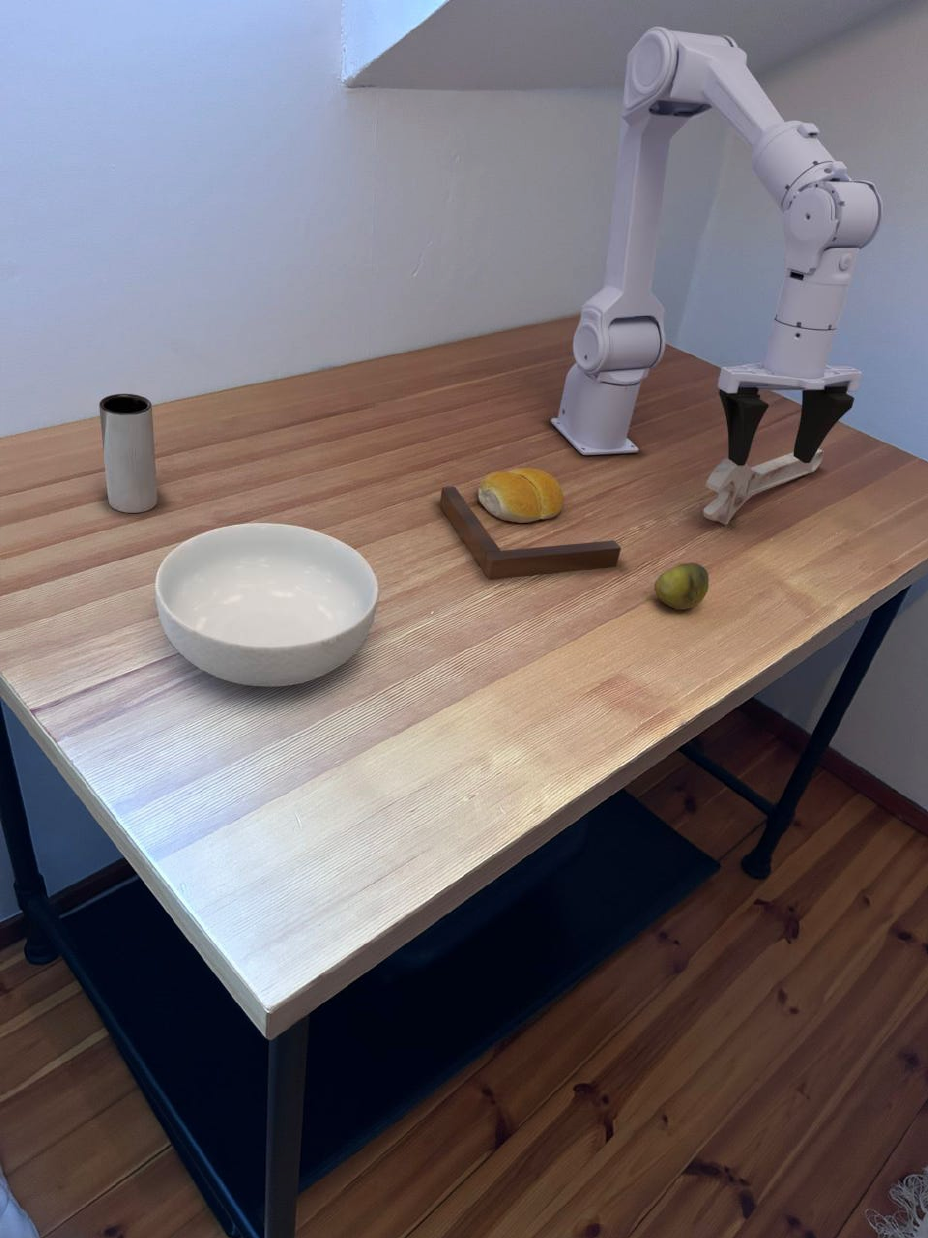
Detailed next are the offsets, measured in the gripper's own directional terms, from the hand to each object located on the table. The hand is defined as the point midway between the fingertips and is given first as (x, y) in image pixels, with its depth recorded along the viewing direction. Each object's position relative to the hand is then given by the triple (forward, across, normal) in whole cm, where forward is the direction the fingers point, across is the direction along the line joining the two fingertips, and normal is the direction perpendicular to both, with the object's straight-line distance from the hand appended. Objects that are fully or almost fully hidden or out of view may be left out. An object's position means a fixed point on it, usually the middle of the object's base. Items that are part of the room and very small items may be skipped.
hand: (769, 460), depth 94 cm
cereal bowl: (+11, -51, -10) cm, 53 cm away
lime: (+12, -12, -8) cm, 18 cm away
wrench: (+10, +9, +12) cm, 18 cm away
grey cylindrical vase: (+8, -61, +14) cm, 63 cm away
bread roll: (+9, -22, +12) cm, 26 cm away
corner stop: (+10, -23, +6) cm, 25 cm away
